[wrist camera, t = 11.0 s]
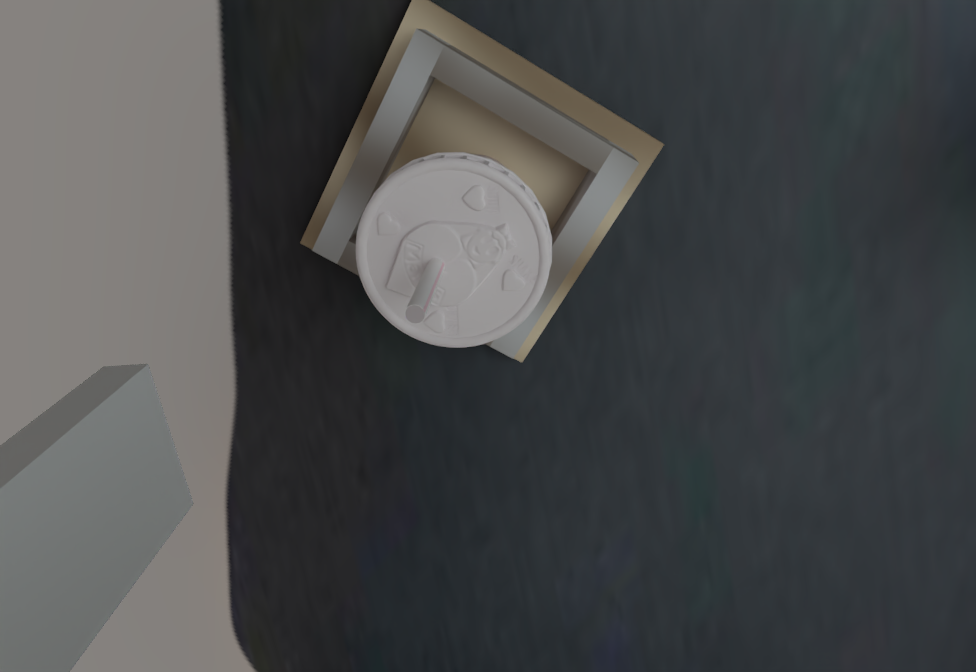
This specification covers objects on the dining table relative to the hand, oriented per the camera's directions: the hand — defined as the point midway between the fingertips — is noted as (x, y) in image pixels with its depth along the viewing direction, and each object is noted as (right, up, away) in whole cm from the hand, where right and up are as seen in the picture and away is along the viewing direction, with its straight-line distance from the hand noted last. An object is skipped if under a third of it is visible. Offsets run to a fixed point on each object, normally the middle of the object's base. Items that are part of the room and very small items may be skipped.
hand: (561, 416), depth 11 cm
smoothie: (-2, +8, +20) cm, 22 cm away
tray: (-2, +8, +21) cm, 22 cm away
